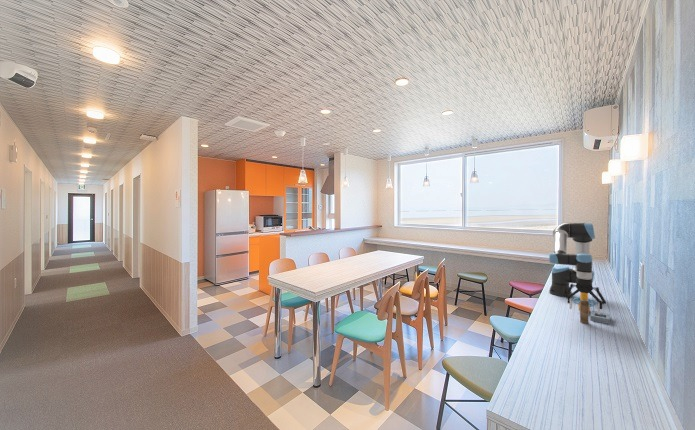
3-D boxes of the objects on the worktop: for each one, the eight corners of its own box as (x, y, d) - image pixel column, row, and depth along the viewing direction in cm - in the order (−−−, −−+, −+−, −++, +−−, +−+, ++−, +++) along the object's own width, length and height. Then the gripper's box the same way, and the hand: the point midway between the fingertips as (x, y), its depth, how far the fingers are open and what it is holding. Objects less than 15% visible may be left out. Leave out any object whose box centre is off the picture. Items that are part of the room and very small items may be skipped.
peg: (580, 320, 178) (580, 299, 177) (588, 322, 175) (588, 300, 175) (579, 322, 175) (579, 301, 175) (588, 324, 172) (588, 302, 172)
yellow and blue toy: (599, 314, 188) (599, 292, 187) (584, 314, 188) (584, 292, 188) (584, 307, 200) (584, 287, 200) (570, 307, 200) (569, 287, 200)
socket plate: (592, 314, 186) (592, 310, 186) (610, 318, 180) (610, 314, 180) (590, 320, 178) (590, 315, 178) (609, 324, 172) (609, 319, 172)
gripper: (558, 276, 180) (558, 307, 181) (611, 282, 163) (611, 318, 163) (560, 274, 186) (560, 305, 186) (611, 280, 168) (611, 314, 168)
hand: (584, 311), depth 175 cm, fingers open, 13 cm apart
